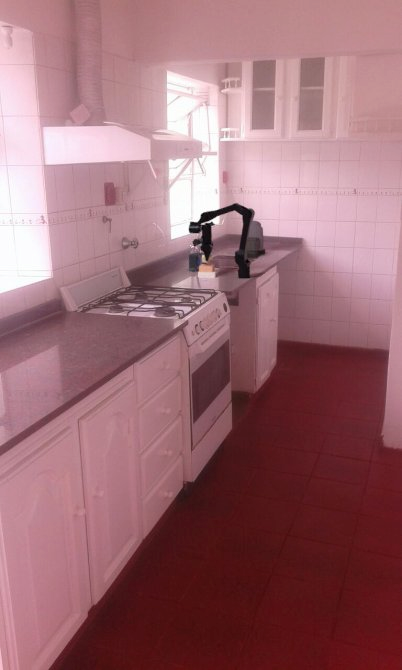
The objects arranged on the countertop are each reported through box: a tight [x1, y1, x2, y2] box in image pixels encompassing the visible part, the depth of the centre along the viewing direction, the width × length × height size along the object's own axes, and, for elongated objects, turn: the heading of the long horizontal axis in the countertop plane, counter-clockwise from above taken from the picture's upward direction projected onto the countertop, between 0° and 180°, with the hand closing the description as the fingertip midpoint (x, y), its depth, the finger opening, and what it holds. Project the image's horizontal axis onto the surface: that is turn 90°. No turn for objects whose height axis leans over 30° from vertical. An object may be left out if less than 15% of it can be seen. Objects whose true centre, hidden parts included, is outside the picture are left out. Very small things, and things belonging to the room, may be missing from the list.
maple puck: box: [202, 254, 213, 264], centre depth 361 cm, size 6×6×4 cm
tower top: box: [198, 263, 216, 272], centre depth 363 cm, size 8×8×4 cm
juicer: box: [247, 220, 266, 259], centre depth 438 cm, size 30×16×24 cm, turn 166°
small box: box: [188, 252, 207, 273], centre depth 383 cm, size 11×6×10 cm, turn 143°
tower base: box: [197, 269, 217, 279], centre depth 363 cm, size 10×10×4 cm
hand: (207, 260), depth 361 cm, fingers closed on maple puck, 6 cm apart
